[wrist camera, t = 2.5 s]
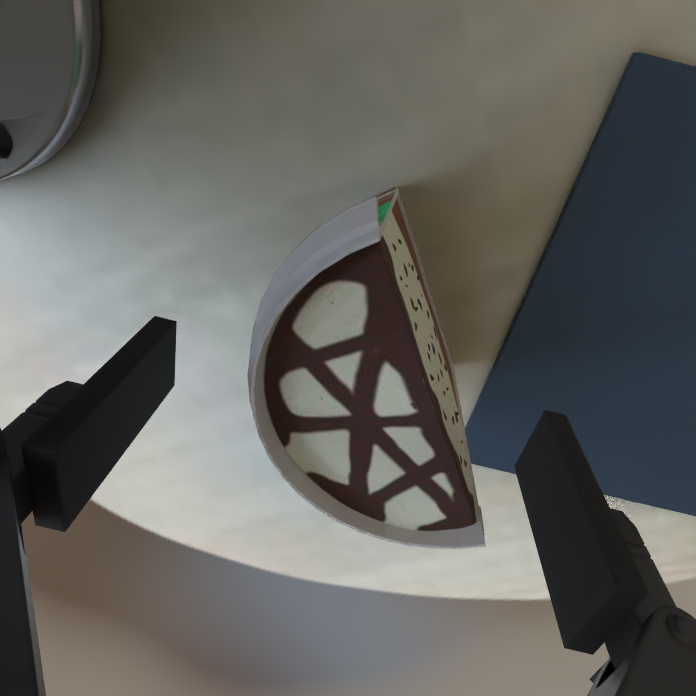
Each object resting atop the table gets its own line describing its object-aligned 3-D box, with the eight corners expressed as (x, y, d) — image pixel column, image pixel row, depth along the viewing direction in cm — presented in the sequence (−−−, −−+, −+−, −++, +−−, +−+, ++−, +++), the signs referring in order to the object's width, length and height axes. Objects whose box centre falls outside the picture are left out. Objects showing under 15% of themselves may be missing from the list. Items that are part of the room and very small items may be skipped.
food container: (253, 201, 21) (150, 292, 13) (386, 150, 20) (371, 216, 11) (350, 414, 27) (324, 579, 18) (460, 388, 25) (489, 556, 16)
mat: (453, 454, 27) (453, 459, 27) (632, 52, 17) (637, 51, 17) (721, 517, 28) (725, 523, 27) (1055, 159, 17) (1068, 161, 17)
